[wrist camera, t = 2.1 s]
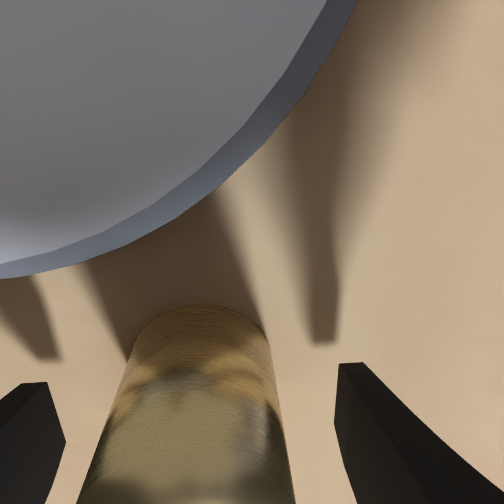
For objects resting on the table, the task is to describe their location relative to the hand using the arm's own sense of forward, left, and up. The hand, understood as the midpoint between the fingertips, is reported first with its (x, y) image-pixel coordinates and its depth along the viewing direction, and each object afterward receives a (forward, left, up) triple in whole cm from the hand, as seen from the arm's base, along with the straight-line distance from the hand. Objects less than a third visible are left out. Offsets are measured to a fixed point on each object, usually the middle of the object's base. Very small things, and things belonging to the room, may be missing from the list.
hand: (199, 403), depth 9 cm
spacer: (0, 0, -2) cm, 2 cm away
